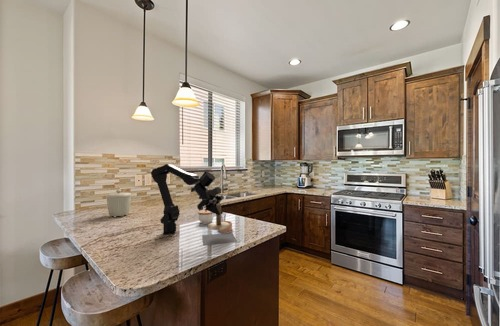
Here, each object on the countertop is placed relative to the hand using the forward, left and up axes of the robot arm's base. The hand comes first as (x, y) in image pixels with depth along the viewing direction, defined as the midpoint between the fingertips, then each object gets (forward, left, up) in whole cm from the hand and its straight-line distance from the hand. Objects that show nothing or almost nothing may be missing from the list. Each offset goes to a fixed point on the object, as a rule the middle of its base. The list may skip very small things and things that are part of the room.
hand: (220, 214), depth 116 cm
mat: (-1, +1, -13) cm, 13 cm away
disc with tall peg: (-1, +1, -7) cm, 7 cm away
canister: (-72, +78, -14) cm, 107 cm away
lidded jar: (-6, +37, -14) cm, 40 cm away
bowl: (+4, +16, -13) cm, 21 cm away
